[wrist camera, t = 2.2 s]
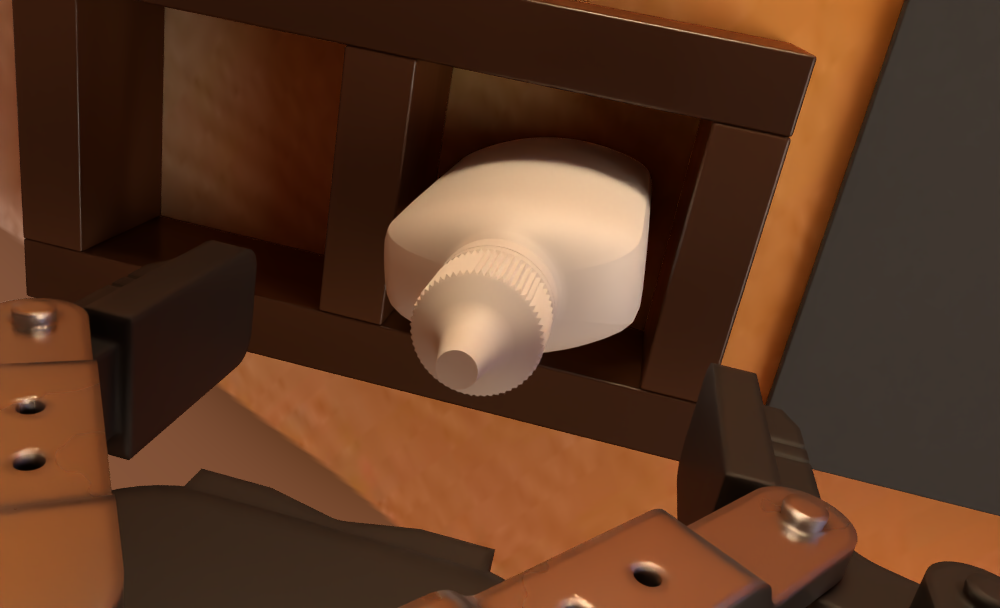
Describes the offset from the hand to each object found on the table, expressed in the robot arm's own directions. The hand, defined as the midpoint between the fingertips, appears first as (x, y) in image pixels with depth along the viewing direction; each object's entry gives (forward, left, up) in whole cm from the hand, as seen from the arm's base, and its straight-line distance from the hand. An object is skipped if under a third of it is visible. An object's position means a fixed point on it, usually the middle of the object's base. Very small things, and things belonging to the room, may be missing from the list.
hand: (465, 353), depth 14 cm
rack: (0, -4, -11) cm, 12 cm away
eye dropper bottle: (0, 0, -11) cm, 11 cm away
